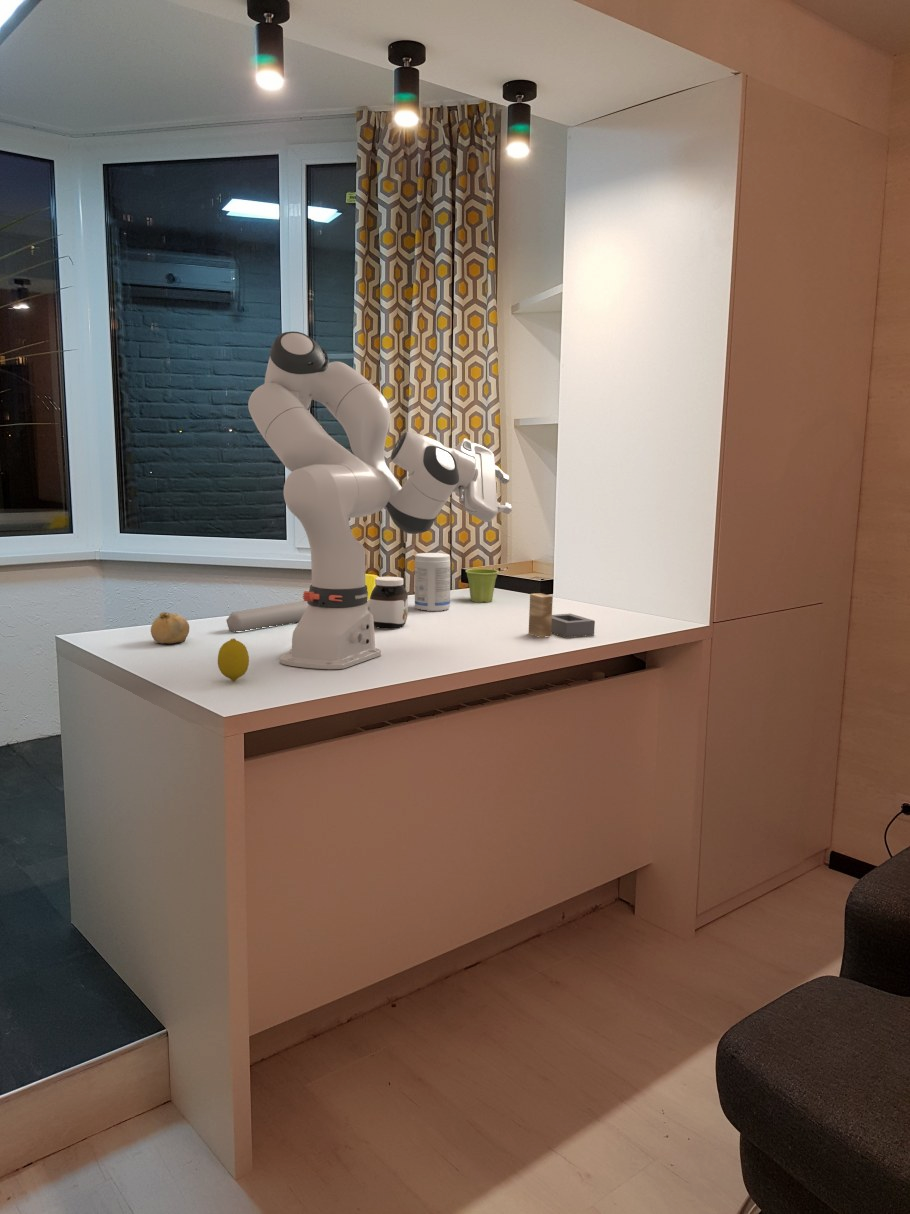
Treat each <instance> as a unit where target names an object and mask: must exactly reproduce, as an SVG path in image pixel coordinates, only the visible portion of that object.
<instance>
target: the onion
mask: <svg viewBox="0 0 910 1214" xmlns="http://www.w3.org/2000/svg"><path fill="white" fill-rule="evenodd" d="M189 633H190V624H189V622H188V621H187V619H186V618H185V617H184V616H182V615H180V614H178V613H170V612H166V611H162V612H160V613H159V616H157V617H156V618H155V619H153V622H152V624H151V627H150V635H151V637H152V638H153V640H154V641H155V642H156V643H159V644H175V643H179V644H181V643H184V642H186V639H187V637H188V635H189Z"/></svg>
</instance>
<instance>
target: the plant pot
mask: <svg viewBox="0 0 910 1214" xmlns="http://www.w3.org/2000/svg"><path fill="white" fill-rule="evenodd" d="M465 573H466V577H467V581H468V586H469V587H468V588H469V595H470V601H472V602H473V601H476V602H475V603H482V602H485V603H490V601H491V602H493V597H494V591H495V585H496V579H497V577H498V574H499V573H500V571H499V570H497V569H491V568H470V569H466V570H465Z"/></svg>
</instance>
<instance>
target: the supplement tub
mask: <svg viewBox="0 0 910 1214" xmlns="http://www.w3.org/2000/svg"><path fill="white" fill-rule="evenodd" d="M414 556H415V557H414V558H415V559H414V607H415V609H417V610H418V609H421V610H420V611H422V610H427V611H426V612H443V610H444V611H447V610H449V609H450V607H451V557H450V556H451V555H450V554H449V553H442V552H420V553H416V554H415V555H414Z"/></svg>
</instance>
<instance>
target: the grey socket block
mask: <svg viewBox="0 0 910 1214" xmlns="http://www.w3.org/2000/svg"><path fill="white" fill-rule="evenodd" d="M595 623H596V621H595V620H594V619H591V618H587V617H584V616H580V615H577V614H573V613H560V614H552V622H551V632H552V633H551V634H554V633H555V634H554V635H556V634H558V635H557V636H559V635H561V636H560V637H562V636H564V637H563V638H565V637H569V638H575V637H574V636H580V637H586V636H585V635H591V636H595V628H596V627H595Z"/></svg>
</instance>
